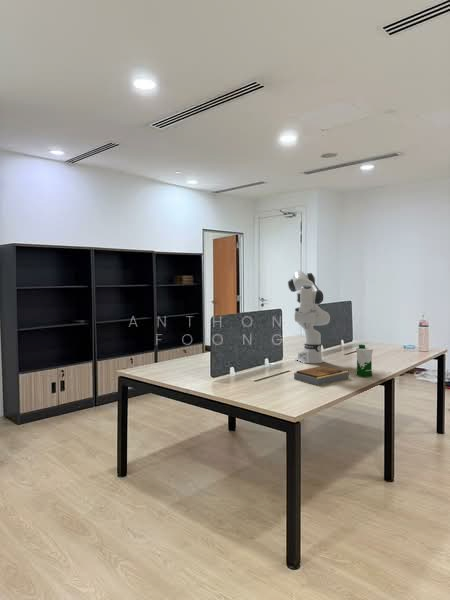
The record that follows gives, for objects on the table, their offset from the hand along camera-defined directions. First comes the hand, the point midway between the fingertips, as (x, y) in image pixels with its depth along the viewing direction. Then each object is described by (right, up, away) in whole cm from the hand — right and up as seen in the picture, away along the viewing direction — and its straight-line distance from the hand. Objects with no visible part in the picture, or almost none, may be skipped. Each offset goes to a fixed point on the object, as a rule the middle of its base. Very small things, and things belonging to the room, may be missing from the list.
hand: (306, 329), depth 290 cm
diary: (+4, -31, -22) cm, 38 cm away
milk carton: (+35, -30, -16) cm, 48 cm away
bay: (+5, -30, -22) cm, 38 cm away
